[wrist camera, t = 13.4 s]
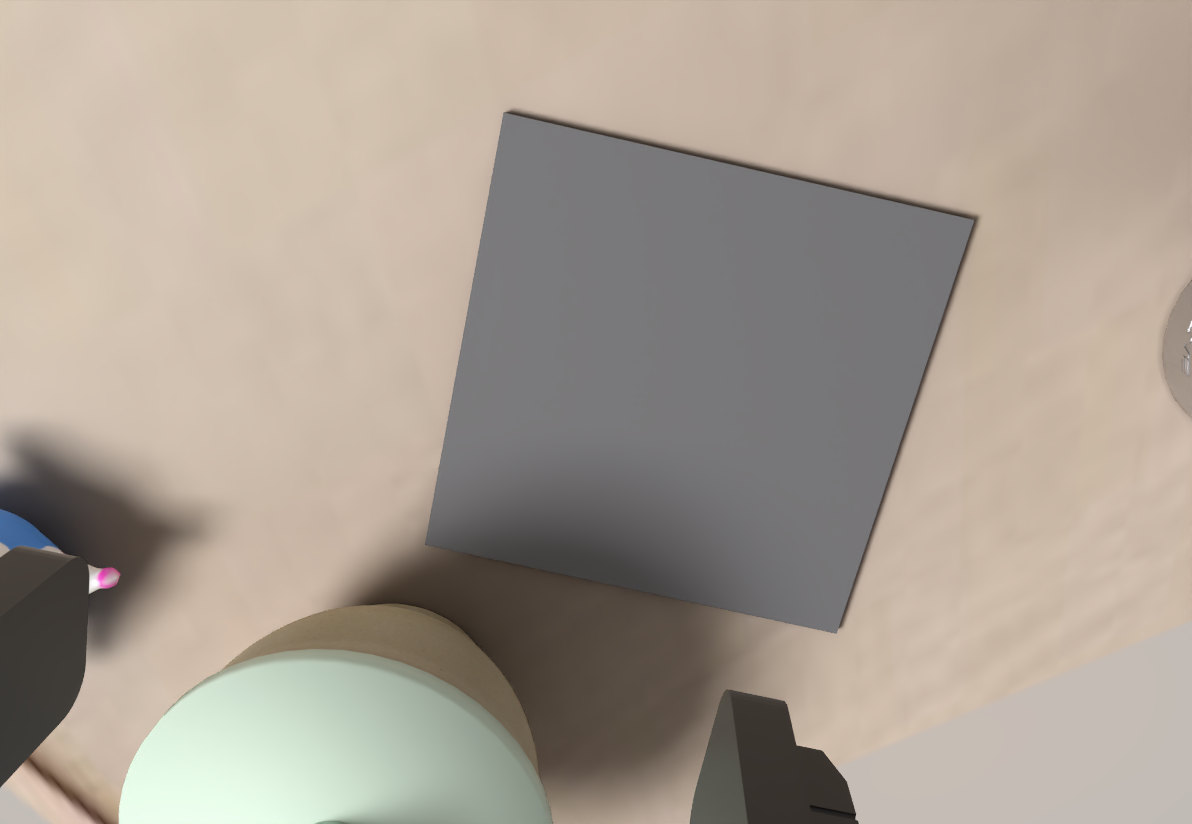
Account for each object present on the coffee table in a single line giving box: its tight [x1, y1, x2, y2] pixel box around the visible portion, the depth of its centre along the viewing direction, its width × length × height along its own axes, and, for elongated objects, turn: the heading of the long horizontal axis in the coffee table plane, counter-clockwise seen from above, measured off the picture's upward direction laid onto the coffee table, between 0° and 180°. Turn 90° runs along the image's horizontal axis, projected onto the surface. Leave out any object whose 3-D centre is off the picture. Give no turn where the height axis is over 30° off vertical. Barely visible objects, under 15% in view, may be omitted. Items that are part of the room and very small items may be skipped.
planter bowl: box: [221, 604, 540, 779], centre depth 45 cm, size 16×16×11 cm
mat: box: [425, 113, 974, 634], centre depth 45 cm, size 20×20×1 cm
